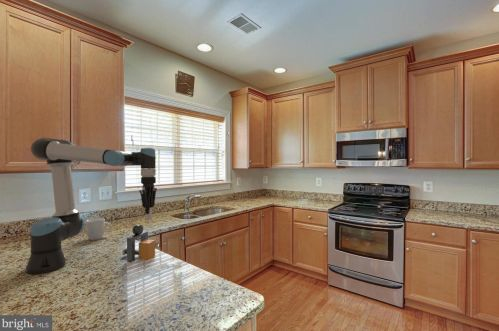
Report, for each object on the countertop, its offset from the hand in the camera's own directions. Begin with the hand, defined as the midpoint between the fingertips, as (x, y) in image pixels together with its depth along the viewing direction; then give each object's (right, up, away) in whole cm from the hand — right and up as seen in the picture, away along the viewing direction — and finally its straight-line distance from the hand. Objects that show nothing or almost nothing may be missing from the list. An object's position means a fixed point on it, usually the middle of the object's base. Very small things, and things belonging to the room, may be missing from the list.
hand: (148, 219), depth 134 cm
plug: (-6, -21, +1) cm, 22 cm away
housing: (-7, -21, +1) cm, 22 cm away
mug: (-49, -21, +34) cm, 64 cm away
